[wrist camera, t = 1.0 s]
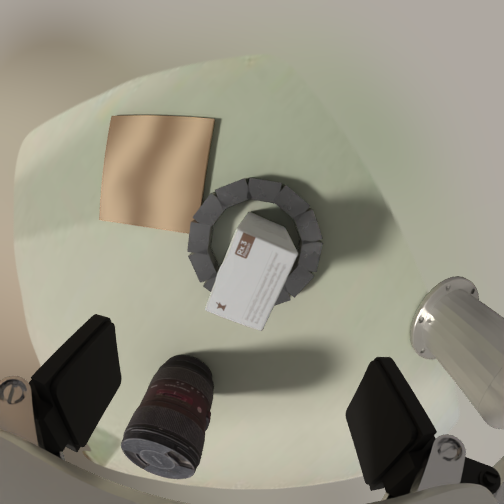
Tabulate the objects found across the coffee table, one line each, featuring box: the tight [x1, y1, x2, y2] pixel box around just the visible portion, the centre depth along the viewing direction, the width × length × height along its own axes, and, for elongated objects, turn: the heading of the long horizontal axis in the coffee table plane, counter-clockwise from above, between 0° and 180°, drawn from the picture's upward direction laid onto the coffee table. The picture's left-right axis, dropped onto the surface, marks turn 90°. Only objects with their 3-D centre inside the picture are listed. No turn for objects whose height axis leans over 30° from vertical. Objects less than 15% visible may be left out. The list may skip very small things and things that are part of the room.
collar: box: [188, 178, 323, 306], centre depth 28 cm, size 13×13×2 cm
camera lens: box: [121, 355, 214, 479], centre depth 26 cm, size 8×8×15 cm
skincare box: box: [205, 212, 298, 331], centre depth 23 cm, size 6×4×12 cm
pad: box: [99, 115, 215, 234], centre depth 27 cm, size 12×12×1 cm
